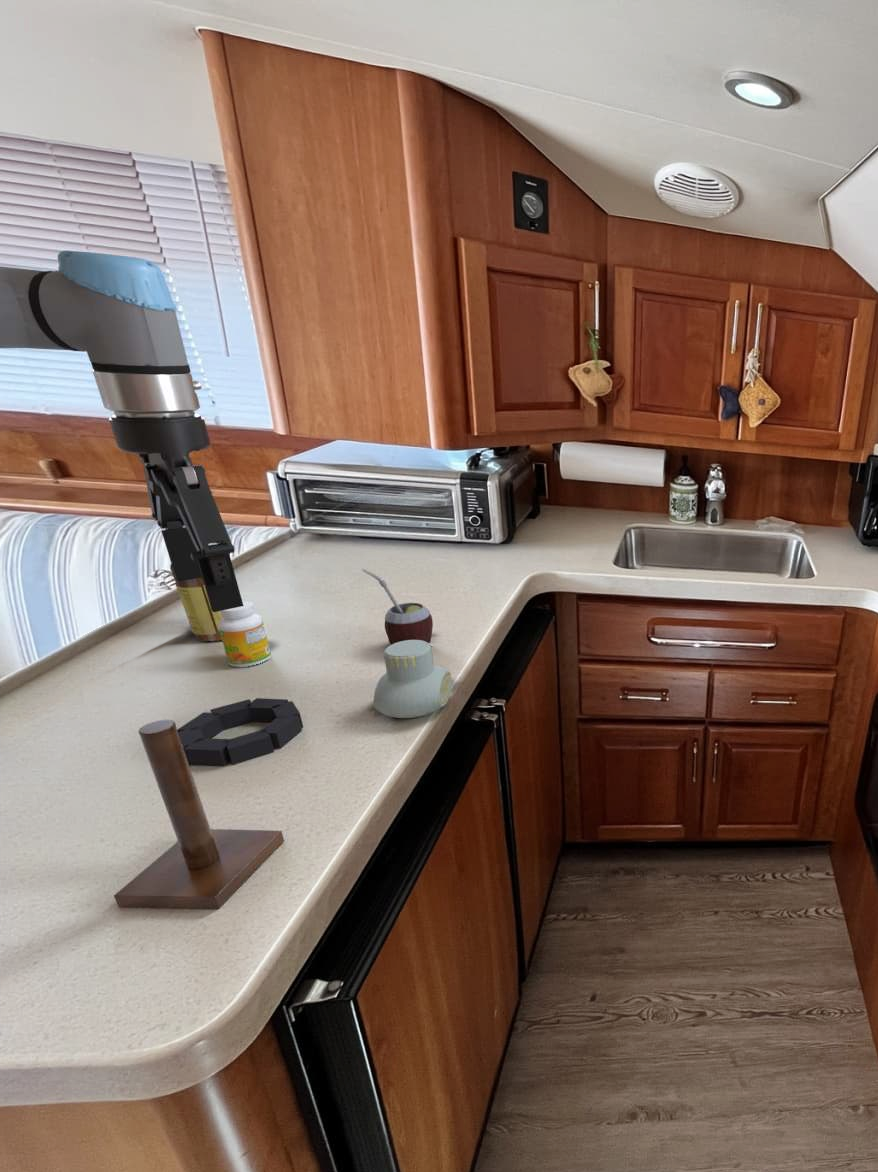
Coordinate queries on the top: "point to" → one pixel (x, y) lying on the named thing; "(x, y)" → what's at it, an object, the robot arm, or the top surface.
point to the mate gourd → (406, 619)
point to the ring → (241, 748)
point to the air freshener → (411, 681)
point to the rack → (192, 839)
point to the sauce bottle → (198, 609)
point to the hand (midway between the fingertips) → (208, 593)
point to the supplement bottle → (243, 636)
